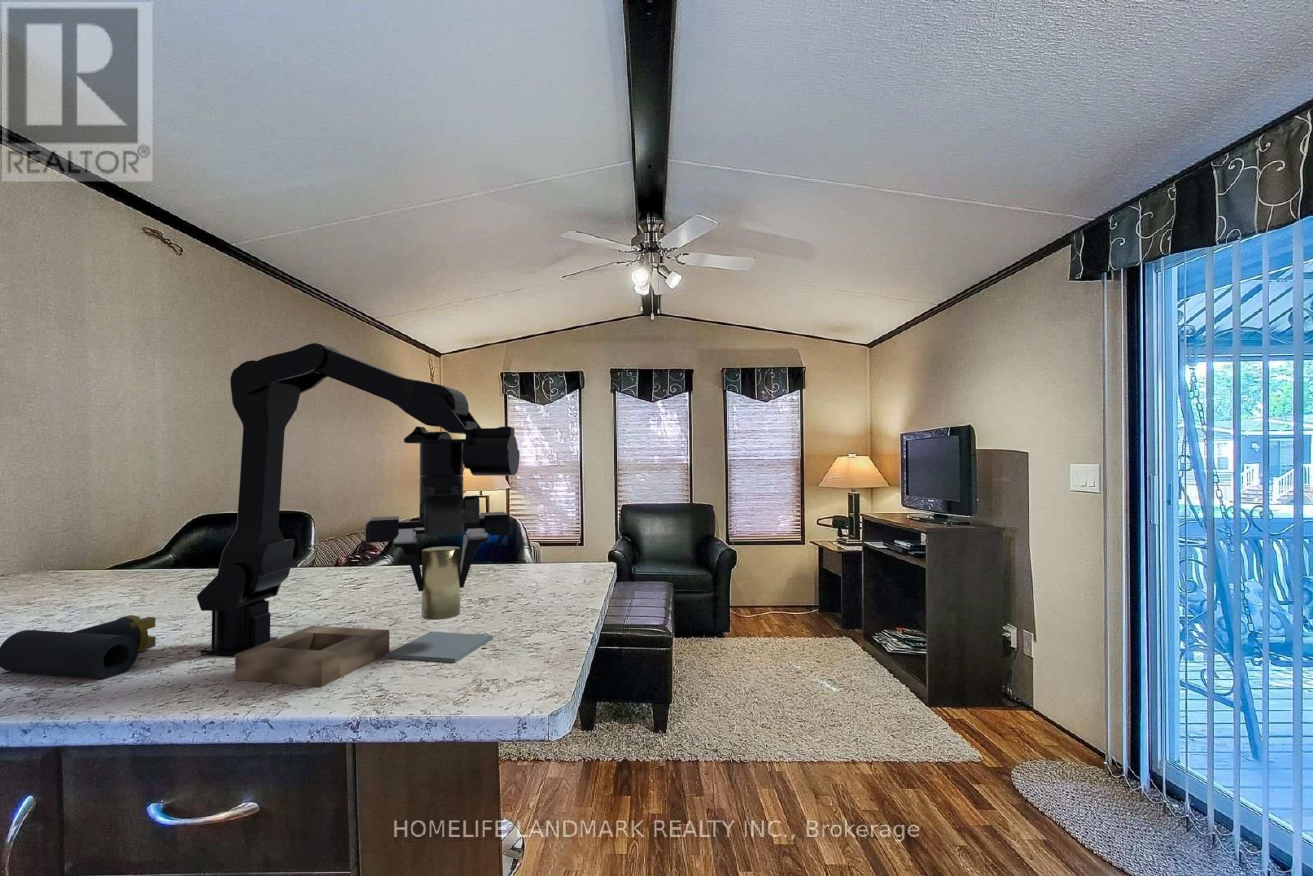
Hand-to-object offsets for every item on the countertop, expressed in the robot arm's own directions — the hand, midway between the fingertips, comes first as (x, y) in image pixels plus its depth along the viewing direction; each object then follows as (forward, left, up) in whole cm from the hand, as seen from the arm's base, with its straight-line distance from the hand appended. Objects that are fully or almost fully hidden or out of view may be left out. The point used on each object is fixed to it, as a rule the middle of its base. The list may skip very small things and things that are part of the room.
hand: (441, 589), depth 82 cm
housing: (-12, -9, -8) cm, 17 cm away
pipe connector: (-41, -13, -9) cm, 44 cm away
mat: (0, 0, -8) cm, 8 cm away
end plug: (0, 0, -4) cm, 4 cm away
